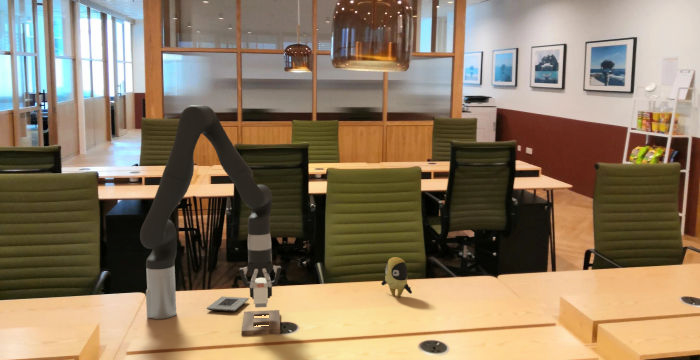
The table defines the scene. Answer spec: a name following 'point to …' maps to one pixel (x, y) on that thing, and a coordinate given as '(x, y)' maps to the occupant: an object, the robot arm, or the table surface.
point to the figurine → (396, 276)
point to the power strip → (260, 292)
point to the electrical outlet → (227, 304)
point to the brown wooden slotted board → (261, 323)
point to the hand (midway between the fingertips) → (261, 297)
